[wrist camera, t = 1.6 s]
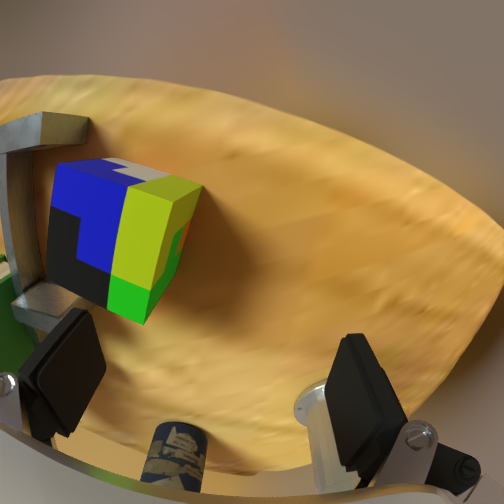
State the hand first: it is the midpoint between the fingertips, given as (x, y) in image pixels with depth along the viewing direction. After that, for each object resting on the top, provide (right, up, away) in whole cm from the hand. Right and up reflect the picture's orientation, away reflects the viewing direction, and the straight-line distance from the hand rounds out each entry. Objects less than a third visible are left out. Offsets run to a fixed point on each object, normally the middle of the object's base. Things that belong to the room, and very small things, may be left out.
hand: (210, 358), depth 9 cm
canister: (-11, -28, +31) cm, 43 cm away
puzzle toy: (-10, +8, +18) cm, 22 cm away
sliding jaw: (-23, -6, +22) cm, 33 cm away
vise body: (-23, +5, +19) cm, 30 cm away
